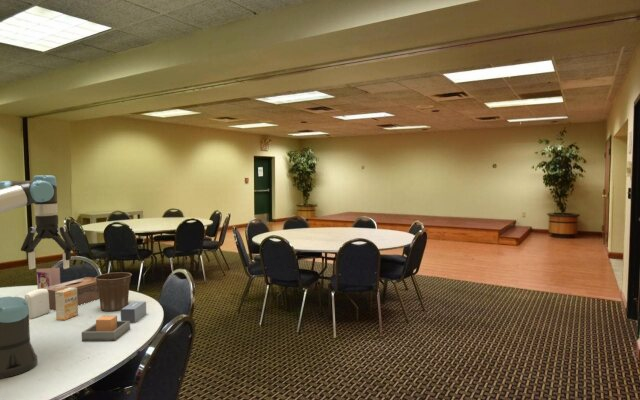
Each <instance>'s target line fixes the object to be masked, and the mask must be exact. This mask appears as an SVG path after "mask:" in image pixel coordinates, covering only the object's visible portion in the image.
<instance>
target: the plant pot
mask: <svg viewBox="0 0 640 400" xmlns="http://www.w3.org/2000/svg"><path fill="white" fill-rule="evenodd" d="M132 276H133V274H132V273H131V272H126V271H125V272H121V271H120V272H119V271H117V272H109V273H103V274H99V275H96V276H95V277H94V278H95V279H96V282H97V286H98V291H99V298H100V299H99V306H100V310H101V311H105V312H115V311H121V309H122V308H124V307H126V306H127V305H129V294H130V285H131V277H132Z"/></svg>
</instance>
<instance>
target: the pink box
mask: <svg viewBox="0 0 640 400" xmlns="http://www.w3.org/2000/svg"><path fill="white" fill-rule="evenodd" d="M60 268H61V267H51V268H50V267H47V268H36V283H37V286H36V287H37V289H41V288H45V287H49V286H53V285H57V284H61V271H60V270H61V269H60Z"/></svg>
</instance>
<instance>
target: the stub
mask: <svg viewBox="0 0 640 400" xmlns="http://www.w3.org/2000/svg"><path fill="white" fill-rule="evenodd" d="M117 321H118V316H117V315H102V316H100V317H98V318H97V319H95V324H96V331H114V330H116V329H117Z"/></svg>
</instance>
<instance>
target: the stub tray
mask: <svg viewBox="0 0 640 400" xmlns="http://www.w3.org/2000/svg"><path fill="white" fill-rule="evenodd" d="M130 330H131V323H130V321H121V320H117V329H116V330H114V331H96V323H94V324H92V325H91V326H89V327H88V328H87V329H84V330H83V331H81V342H115V341H117V340H118V339H119V338H120V337H122V336H123V335H125V334H126V333H127V332H128V331H130Z"/></svg>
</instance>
